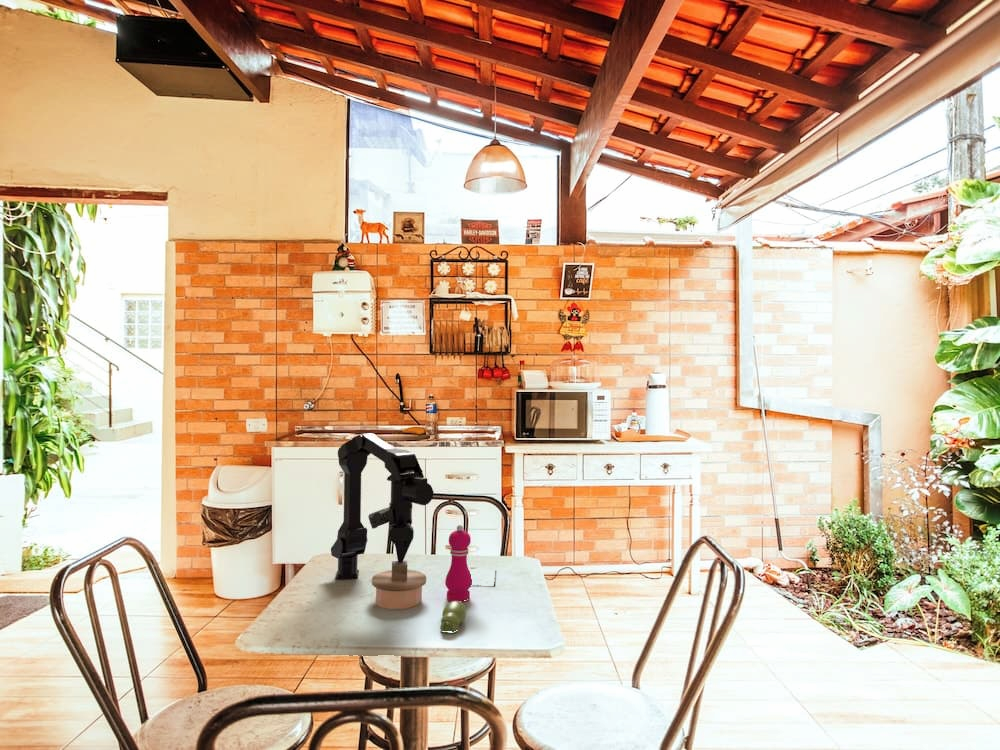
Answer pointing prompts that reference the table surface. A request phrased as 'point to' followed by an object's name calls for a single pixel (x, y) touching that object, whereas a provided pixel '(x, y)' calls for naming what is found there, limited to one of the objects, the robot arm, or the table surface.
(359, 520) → the robot arm
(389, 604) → the terracotta bowl
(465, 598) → the pepper mill
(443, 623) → the pear
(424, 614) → the table surface
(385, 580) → the walnut lid
